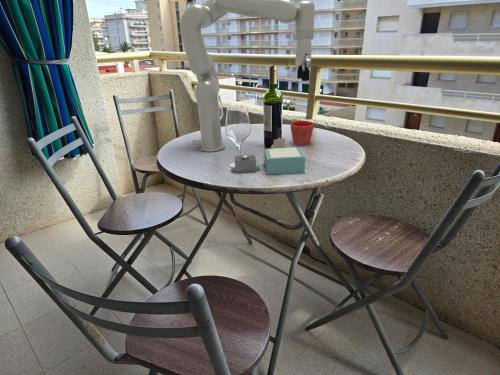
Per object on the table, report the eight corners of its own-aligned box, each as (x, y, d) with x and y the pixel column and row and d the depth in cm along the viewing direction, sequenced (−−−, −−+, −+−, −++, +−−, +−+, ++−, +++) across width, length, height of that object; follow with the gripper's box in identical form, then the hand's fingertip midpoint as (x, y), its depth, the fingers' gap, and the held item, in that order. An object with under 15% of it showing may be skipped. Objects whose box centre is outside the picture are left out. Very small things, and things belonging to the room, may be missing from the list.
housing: (231, 173, 121) (230, 158, 118) (231, 168, 126) (230, 153, 123) (260, 171, 121) (260, 156, 118) (259, 166, 126) (259, 152, 123)
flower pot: (313, 146, 146) (314, 126, 142) (289, 146, 148) (289, 126, 144) (312, 140, 156) (313, 120, 152) (290, 140, 158) (290, 120, 154)
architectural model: (270, 154, 140) (270, 138, 137) (284, 152, 143) (284, 136, 139) (273, 156, 138) (273, 140, 134) (287, 154, 140) (287, 138, 136)
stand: (267, 174, 118) (267, 158, 115) (264, 163, 129) (264, 148, 126) (304, 172, 118) (305, 156, 116) (298, 161, 129) (299, 146, 127)
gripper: (291, 36, 138) (291, 78, 145) (299, 36, 122) (298, 82, 129) (308, 36, 138) (307, 77, 145) (318, 35, 122) (316, 81, 129)
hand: (303, 79), depth 137 cm, fingers open, 9 cm apart
